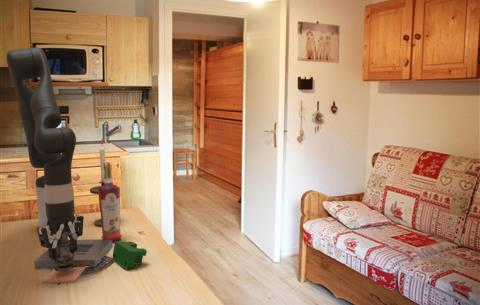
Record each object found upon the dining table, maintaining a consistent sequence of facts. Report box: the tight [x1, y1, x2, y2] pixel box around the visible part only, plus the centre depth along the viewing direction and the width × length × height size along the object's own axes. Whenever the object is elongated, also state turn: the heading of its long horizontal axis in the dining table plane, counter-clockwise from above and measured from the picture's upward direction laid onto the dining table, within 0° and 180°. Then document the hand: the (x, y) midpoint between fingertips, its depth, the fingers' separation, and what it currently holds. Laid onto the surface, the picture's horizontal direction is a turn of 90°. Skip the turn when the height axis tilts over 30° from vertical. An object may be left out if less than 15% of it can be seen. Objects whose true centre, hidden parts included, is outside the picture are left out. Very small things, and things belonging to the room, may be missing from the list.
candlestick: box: [89, 137, 106, 228], centre depth 168 cm, size 11×11×35 cm
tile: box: [41, 267, 87, 283], centre depth 122 cm, size 9×9×1 cm
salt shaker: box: [54, 232, 76, 272], centre depth 121 cm, size 6×6×12 cm
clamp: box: [112, 240, 148, 270], centre depth 131 cm, size 12×6×9 cm, turn 34°
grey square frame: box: [33, 238, 113, 270], centre depth 136 cm, size 18×18×2 cm
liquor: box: [97, 161, 122, 243], centre depth 149 cm, size 7×7×28 cm
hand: (63, 255), depth 122 cm, fingers closed on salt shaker, 5 cm apart
